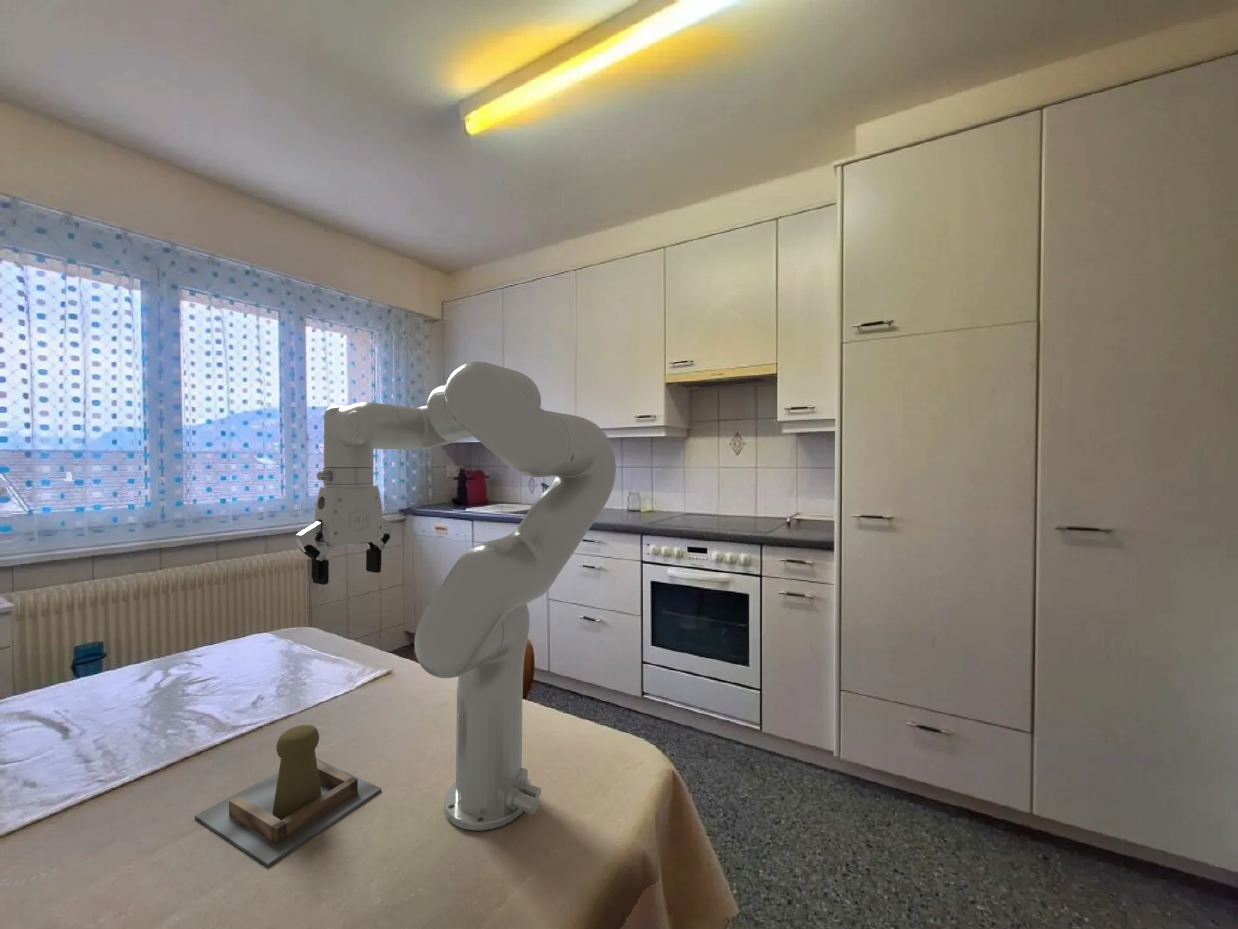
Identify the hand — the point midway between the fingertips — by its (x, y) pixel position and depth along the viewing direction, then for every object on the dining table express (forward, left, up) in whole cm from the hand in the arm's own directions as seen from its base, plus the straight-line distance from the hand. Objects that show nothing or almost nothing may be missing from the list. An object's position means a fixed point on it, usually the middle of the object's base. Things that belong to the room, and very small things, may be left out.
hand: (348, 577), depth 85 cm
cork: (-7, +12, -30) cm, 33 cm away
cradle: (-6, +12, -30) cm, 33 cm away
